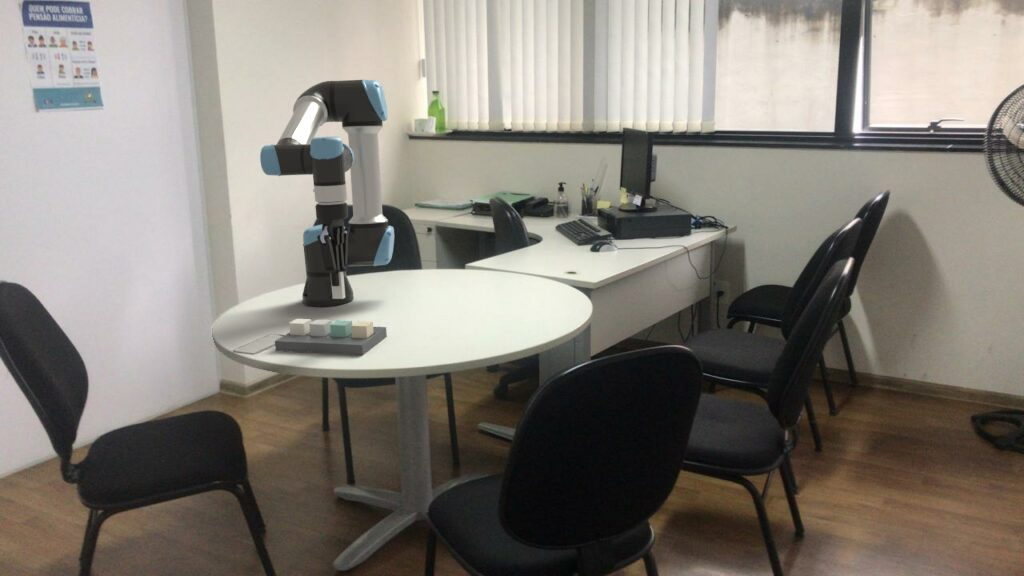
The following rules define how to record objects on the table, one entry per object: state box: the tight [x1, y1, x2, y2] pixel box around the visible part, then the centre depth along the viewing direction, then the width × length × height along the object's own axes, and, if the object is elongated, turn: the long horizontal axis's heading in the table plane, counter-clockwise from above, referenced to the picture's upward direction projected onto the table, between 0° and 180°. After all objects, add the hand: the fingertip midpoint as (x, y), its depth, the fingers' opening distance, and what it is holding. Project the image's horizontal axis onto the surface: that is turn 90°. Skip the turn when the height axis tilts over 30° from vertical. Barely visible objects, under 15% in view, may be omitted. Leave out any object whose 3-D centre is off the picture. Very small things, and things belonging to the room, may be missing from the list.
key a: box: [288, 318, 312, 336], centre depth 200 cm, size 4×4×3 cm
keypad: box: [274, 326, 388, 356], centre depth 199 cm, size 15×23×2 cm, turn 77°
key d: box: [351, 320, 374, 338], centre depth 196 cm, size 4×4×3 cm
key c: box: [330, 319, 353, 337], centre depth 198 cm, size 4×4×3 cm
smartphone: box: [232, 333, 285, 355], centre depth 201 cm, size 7×1×15 cm
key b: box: [309, 319, 333, 337], centre depth 199 cm, size 4×4×3 cm
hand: (338, 297), depth 196 cm, fingers closed
